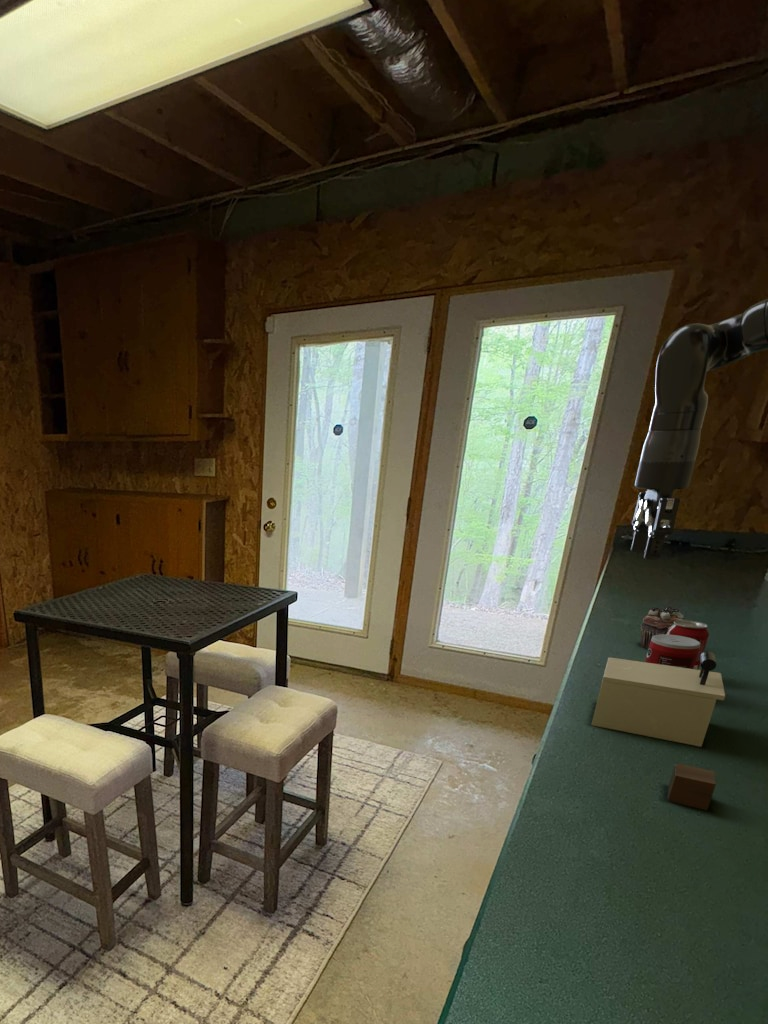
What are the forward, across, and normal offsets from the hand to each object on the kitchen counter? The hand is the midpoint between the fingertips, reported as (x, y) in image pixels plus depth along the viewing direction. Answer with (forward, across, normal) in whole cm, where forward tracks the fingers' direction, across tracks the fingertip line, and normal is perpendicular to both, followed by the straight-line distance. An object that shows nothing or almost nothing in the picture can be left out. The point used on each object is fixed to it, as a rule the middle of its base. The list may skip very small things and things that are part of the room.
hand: (644, 555), depth 111 cm
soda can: (+29, +21, -16) cm, 40 cm away
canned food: (+29, +11, -11) cm, 33 cm away
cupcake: (+29, +43, -19) cm, 55 cm away
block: (+29, -36, -2) cm, 46 cm away
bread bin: (+29, -8, -4) cm, 30 cm away
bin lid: (+20, -8, -5) cm, 22 cm away
